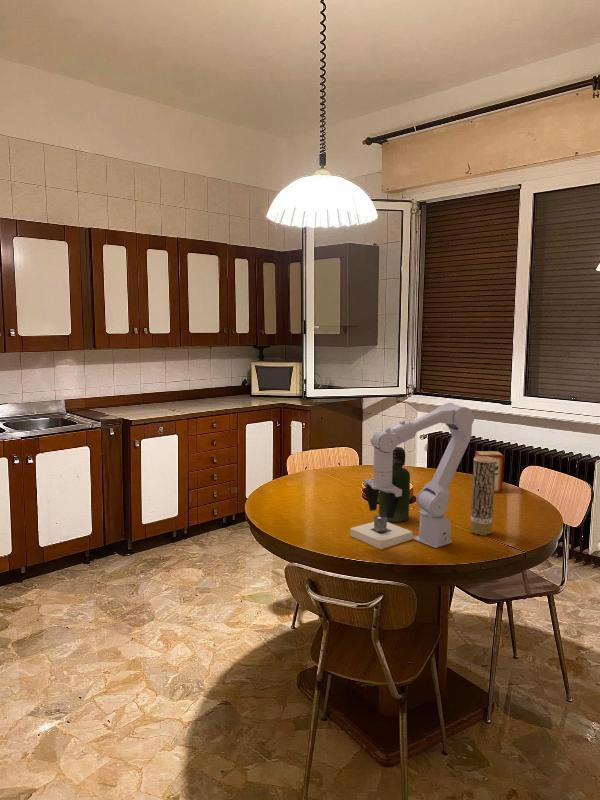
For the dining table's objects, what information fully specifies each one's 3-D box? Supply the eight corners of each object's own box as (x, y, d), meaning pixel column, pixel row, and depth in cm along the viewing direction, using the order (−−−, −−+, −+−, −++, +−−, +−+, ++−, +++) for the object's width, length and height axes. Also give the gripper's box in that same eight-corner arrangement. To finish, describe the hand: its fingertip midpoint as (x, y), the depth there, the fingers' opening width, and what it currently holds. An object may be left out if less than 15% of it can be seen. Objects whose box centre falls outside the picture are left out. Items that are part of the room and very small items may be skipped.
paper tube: (467, 528, 203) (471, 455, 199) (488, 529, 202) (492, 456, 199) (473, 536, 196) (476, 460, 192) (494, 536, 196) (498, 461, 192)
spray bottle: (375, 513, 217) (377, 445, 214) (404, 512, 218) (406, 444, 215) (382, 523, 207) (384, 452, 204) (412, 522, 208) (414, 451, 204)
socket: (412, 539, 193) (412, 531, 192) (380, 549, 184) (380, 541, 184) (381, 526, 204) (381, 519, 203) (350, 535, 195) (350, 528, 195)
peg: (388, 537, 194) (389, 516, 193) (381, 541, 191) (382, 520, 190) (378, 534, 196) (378, 514, 195) (371, 538, 193) (371, 517, 192)
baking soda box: (477, 492, 243) (479, 454, 241) (473, 488, 250) (475, 450, 247) (501, 493, 243) (503, 454, 241) (496, 488, 249) (498, 450, 247)
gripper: (356, 467, 187) (356, 509, 189) (390, 477, 175) (389, 522, 177) (373, 464, 191) (372, 505, 193) (407, 474, 180) (405, 518, 182)
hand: (381, 513), depth 185 cm, fingers open, 7 cm apart
